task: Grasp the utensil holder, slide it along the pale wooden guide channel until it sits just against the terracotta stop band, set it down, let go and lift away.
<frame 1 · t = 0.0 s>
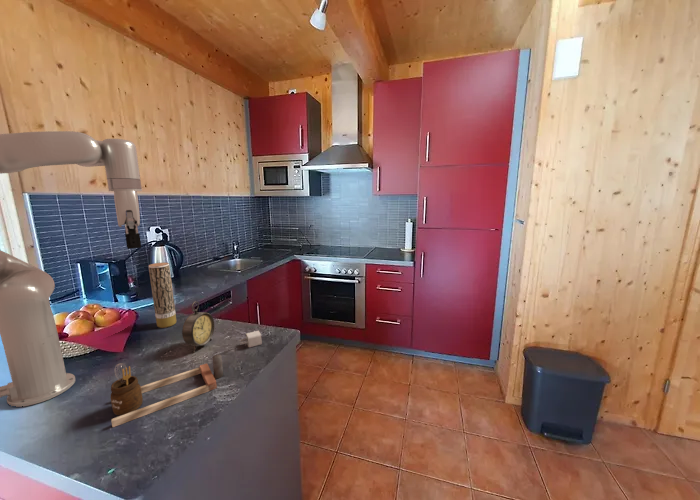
hand: (133, 245, 85), 37 cm above the counter, tool pointing down, fingers open, 9 cm apart
paper tube: (167, 325, 118), on the counter
utensil holder: (128, 408, 72), on the counter
guide channel: (166, 394, 76), on the counter
alarm clock: (200, 346, 101), on the counter
usb wall charger: (250, 345, 101), on the counter
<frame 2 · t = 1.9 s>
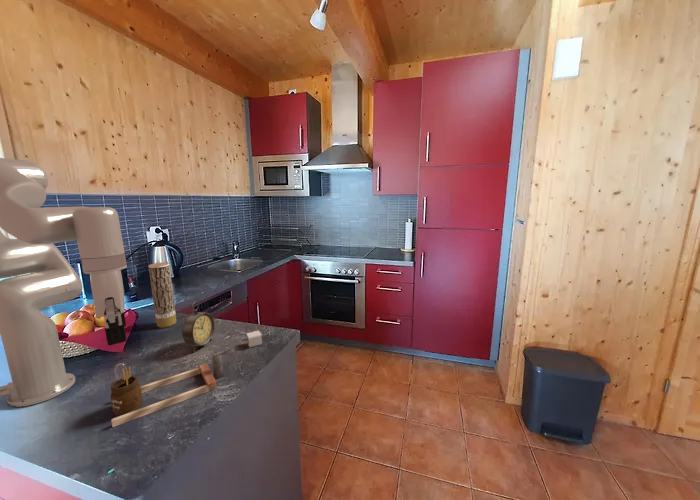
hand: (117, 335, 68), 19 cm above the counter, tool pointing down, fingers open, 9 cm apart
nothing on the counter moved.
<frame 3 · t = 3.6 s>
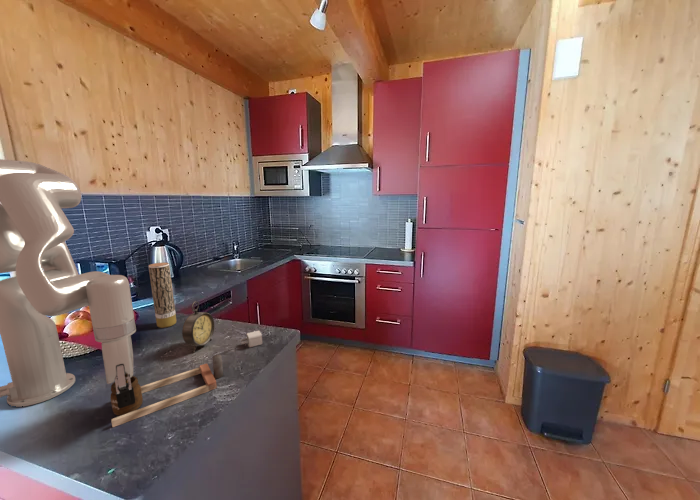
hand: (126, 397, 71), 3 cm above the counter, tool pointing down, fingers closed on utensil holder, 5 cm apart
utensil holder: (128, 408, 72), on the counter, touching gripper
everything else where it was.
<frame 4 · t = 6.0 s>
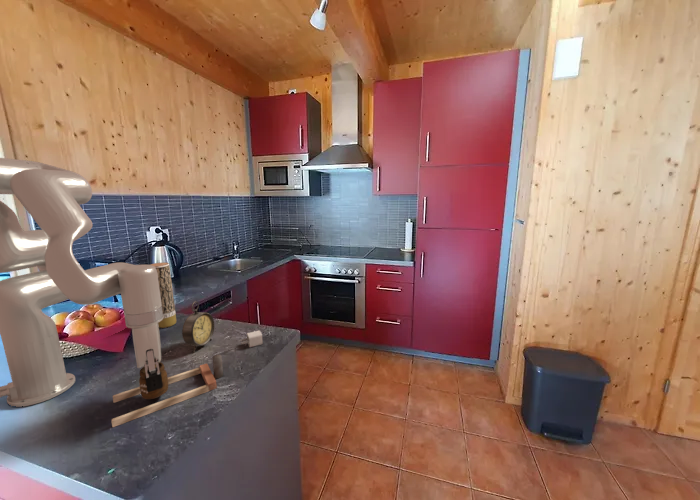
hand: (154, 382, 74), 5 cm above the counter, tool pointing down, fingers closed on utensil holder, 5 cm apart
utensil holder: (155, 393, 75), point 1 cm above the counter, touching gripper
everything else where it was.
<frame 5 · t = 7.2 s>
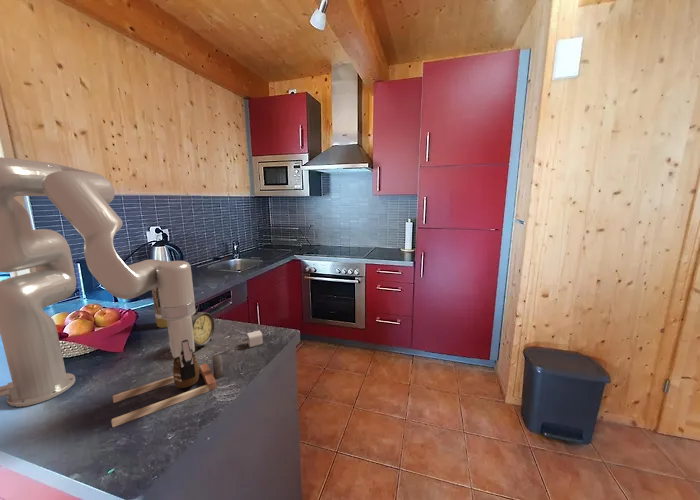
hand: (186, 371, 79), 4 cm above the counter, tool pointing down, fingers closed on utensil holder, 5 cm apart
utensil holder: (187, 382, 79), point 1 cm above the counter, touching gripper
everything else where it was.
when the fingers open (3 cm above the counter, at t = 8.2 s): utensil holder stays where it is, on the counter.
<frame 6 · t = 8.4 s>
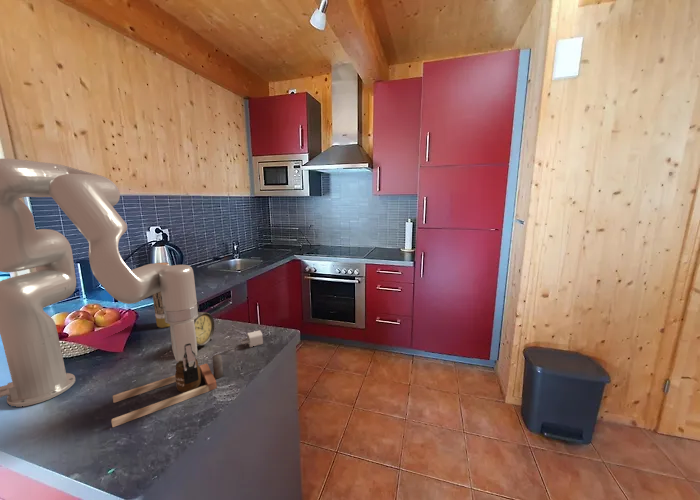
hand: (188, 373, 79), 4 cm above the counter, tool pointing down, fingers open, 7 cm apart
utensil holder: (189, 386, 80), on the counter
everything else where it was.
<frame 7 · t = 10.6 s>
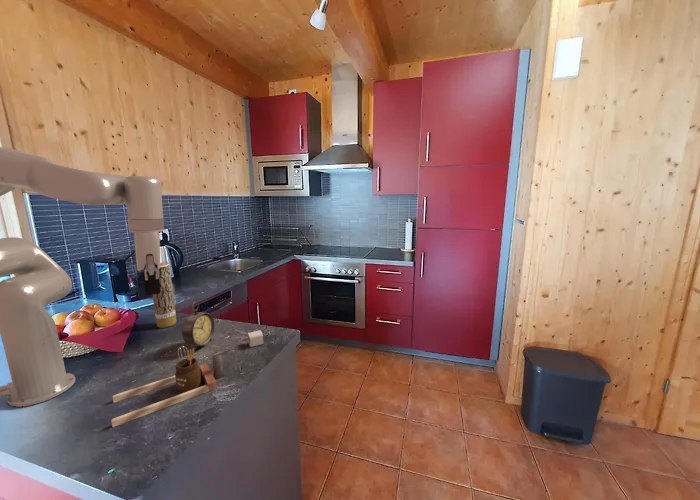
hand: (152, 289, 78), 26 cm above the counter, tool pointing down, fingers open, 9 cm apart
nothing on the counter moved.
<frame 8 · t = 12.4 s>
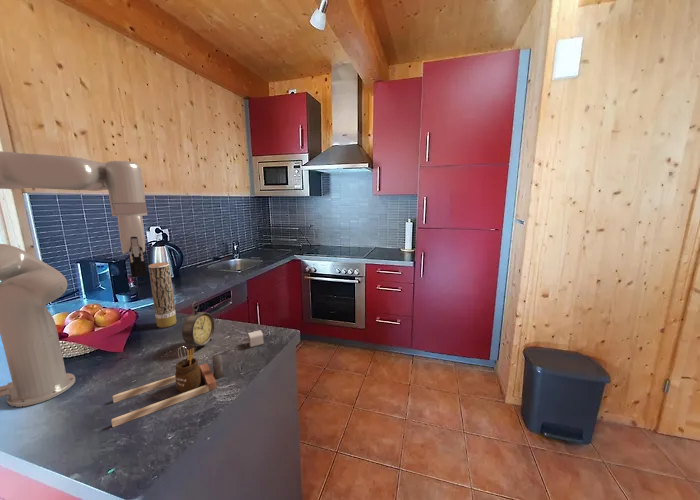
hand: (138, 272, 80), 30 cm above the counter, tool pointing down, fingers open, 9 cm apart
nothing on the counter moved.
at the end: utensil holder 0.2 cm from the target spot, on the counter; utensil holder tilted 0°; the gripper is holding nothing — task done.
